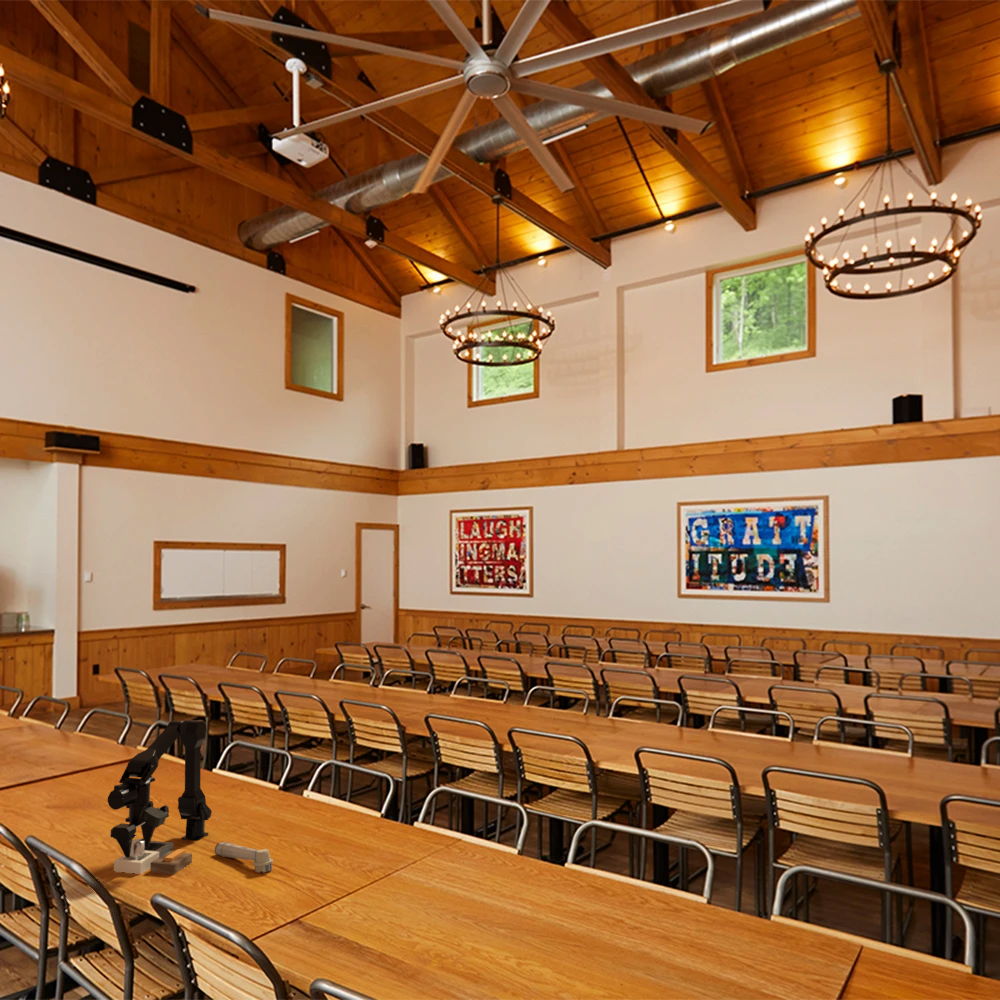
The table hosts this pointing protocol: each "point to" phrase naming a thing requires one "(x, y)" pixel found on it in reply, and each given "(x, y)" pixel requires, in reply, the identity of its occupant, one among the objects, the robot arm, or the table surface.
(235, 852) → the grey handle with block
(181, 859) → the key guide
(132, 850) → the peg
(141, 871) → the frame
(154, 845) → the socket block
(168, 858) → the block
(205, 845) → the table surface
